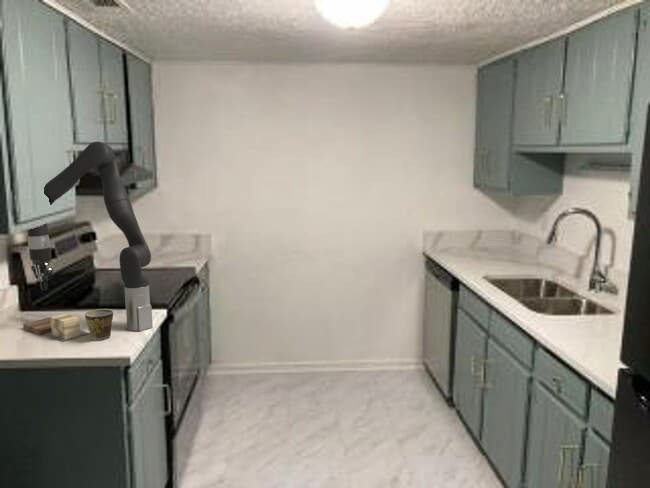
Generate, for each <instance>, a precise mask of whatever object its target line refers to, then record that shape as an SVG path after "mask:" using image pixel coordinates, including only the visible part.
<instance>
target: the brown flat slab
mask: <svg viewBox="0 0 650 488" xmlns="http://www.w3.org/2000/svg"><path fill="white" fill-rule="evenodd" d="M50 317H51V316H50ZM50 317H46V318H41V319H37V320H33V321H30V322H25V323H23V324H22V327H23V330H25V331H28V332H31V333H35V334H36V335H38V336H45V335H44V334H45V333H49V332H52V331H51V320H50Z"/></svg>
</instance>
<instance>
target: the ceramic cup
mask: <svg viewBox="0 0 650 488" xmlns="http://www.w3.org/2000/svg"><path fill="white" fill-rule="evenodd" d="M84 316H85V317H84V318H85V322H86V324H87V327H88V331H89V332H88V333H90V334H89V335H90V339H91V340H92V341H95V342H101V341H105V340H108V339H110V337H111V335H112V334H111V333H112V323H113V319H114V310H113V309H111V308H110V309H109V308H99V309H92V310H88V311H86V312H85V313H84Z"/></svg>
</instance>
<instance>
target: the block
mask: <svg viewBox="0 0 650 488" xmlns="http://www.w3.org/2000/svg"><path fill="white" fill-rule="evenodd" d="M50 320H51V331H52V335H55V336H57V337H60V338H63V339H69V338H73V337H76V336H80V330H81V326H80V317H78V316H75V315H72V314H69V313H66V312H65V313H62V314H61V313H60V314H56V315H52V316H50Z"/></svg>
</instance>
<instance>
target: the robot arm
mask: <svg viewBox="0 0 650 488" xmlns="http://www.w3.org/2000/svg"><path fill="white" fill-rule="evenodd" d="M95 168H96V169H97V171H98V175H99V176H100V180H101V183H102V184H101V185H102V193H103V194H102V195H103V200H104V201H103V202H104V205H105V208H106V211H107V214H108V215H109V218H110V220H111V221H112V222H113V223H114V225H115V226H116V227H117V228H118V229H119V230H120V231H121V232H122V233H123V235H124V236H125V238H126V240H127V243H128V247H124V248H123V249H121V251H120V254H119V268H120V269H119V270H120V276H121V281H122V282H123V286H124V302H125V313H126V314H125V315H126V327H127V328H126V329H127V330H128V331H133V332H142V331H144V330H145V331H146V330H149V329H151V328H154V327H153V312H152V310H153V308H152V307H153V306H152V304H151V301H150V300H151V298H150V281H149V278H148V277H147V276H144V275H143V273H142V268H145V267H147V266H149V265H150V263H151V261H152V253H151V250H150V248H149V245H148V244H147V242H146V239H145V238H144V235H143V232H142V230H141V229H140V225H139V222H138V220H137V218H136V215H135V212H134V208H133V205H132V202H131V199H130V198H129V197H130V196H129V194H128V193H127V190H126V187H125V185H124V181H123V180H122V177H121V175H120V171H119V167H118V163H117V158H116V155H115V152H114V150H113V148H112V147H111V146H110V145H108V144H107V143H104V142H102V141H92V142H91V143H89V144H88V145H87V146H86V147H85V148H84V149H83V150H82V151H81V153H80V154H79V155H78V156H77V157H75V159H74V160H73V161H72V162H71V163H70V164H69V165H68V166H67V167H65V168H64V169H63V170H62V171H61V172H59V173H58V174H57V175H56V176H54V177H53V178H52V179H51V180H49V181H47V183H45V184H46V185H45V184H44V185H45V187H44V194H45V195H46V196H47V197H48V198H49V202H50V205H51V206H52V204H54V202H56V201H57V200H59V199H60V198H61V197H62V196H64V195H65V194H66V193H67V192H69V191H70V190H71V189H72V188H73V187H74V186H75V185H76V184H77V183H78V181H80V179H81V178H82V177H83V176H84V175H86V173H87V172H89V171H91V170H93V169H95ZM27 237H28V238H27V245H28V253H29V259H30V260H31V261H33V265H31V266H30V269H31V271H32V272H33V274H34V276H35V278H36V280H38V282H39V287H40V291H48V289H49V287H48V286H49V284H48V281H49V280H51V278H52V275H53V272H54V268H53V267H50V262H49V260H50V259H51V258H52V249H51V241H50V240H51V239H50V237H49V229H48V223H47V222H46V224H44V225H43V226H40V227H37V228H34V229H30V230H27Z"/></svg>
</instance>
